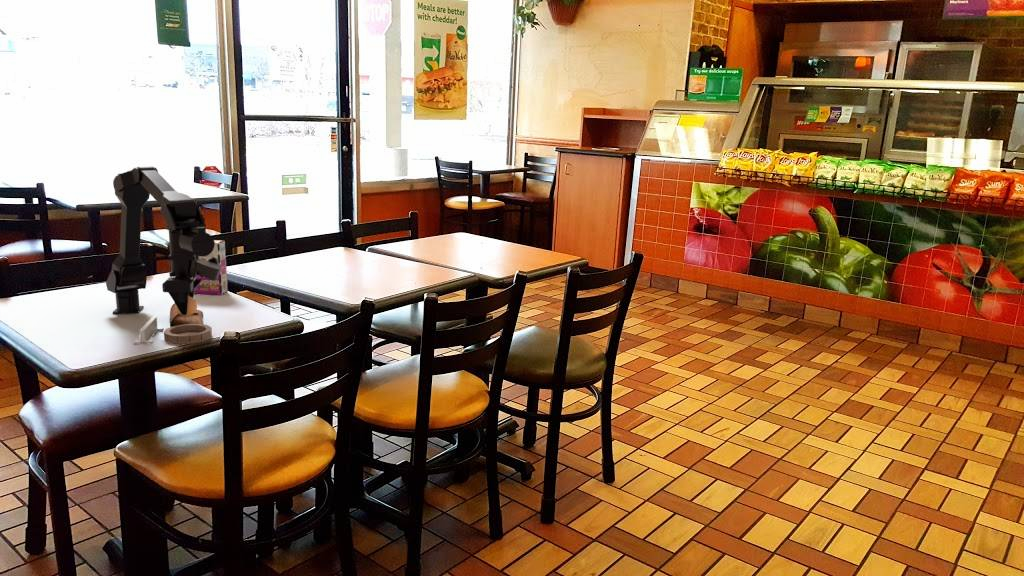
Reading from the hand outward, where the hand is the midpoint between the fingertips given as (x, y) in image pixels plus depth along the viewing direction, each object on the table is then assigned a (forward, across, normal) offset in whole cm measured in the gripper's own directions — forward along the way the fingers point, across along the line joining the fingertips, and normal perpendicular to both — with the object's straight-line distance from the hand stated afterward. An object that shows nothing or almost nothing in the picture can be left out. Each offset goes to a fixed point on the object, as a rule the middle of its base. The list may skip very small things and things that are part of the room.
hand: (186, 311), depth 188 cm
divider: (+7, +1, +9) cm, 12 cm away
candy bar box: (+7, +46, +4) cm, 47 cm away
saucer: (+7, 0, 0) cm, 7 cm away
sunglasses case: (+7, +14, +3) cm, 15 cm away
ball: (+1, 0, 0) cm, 1 cm away
